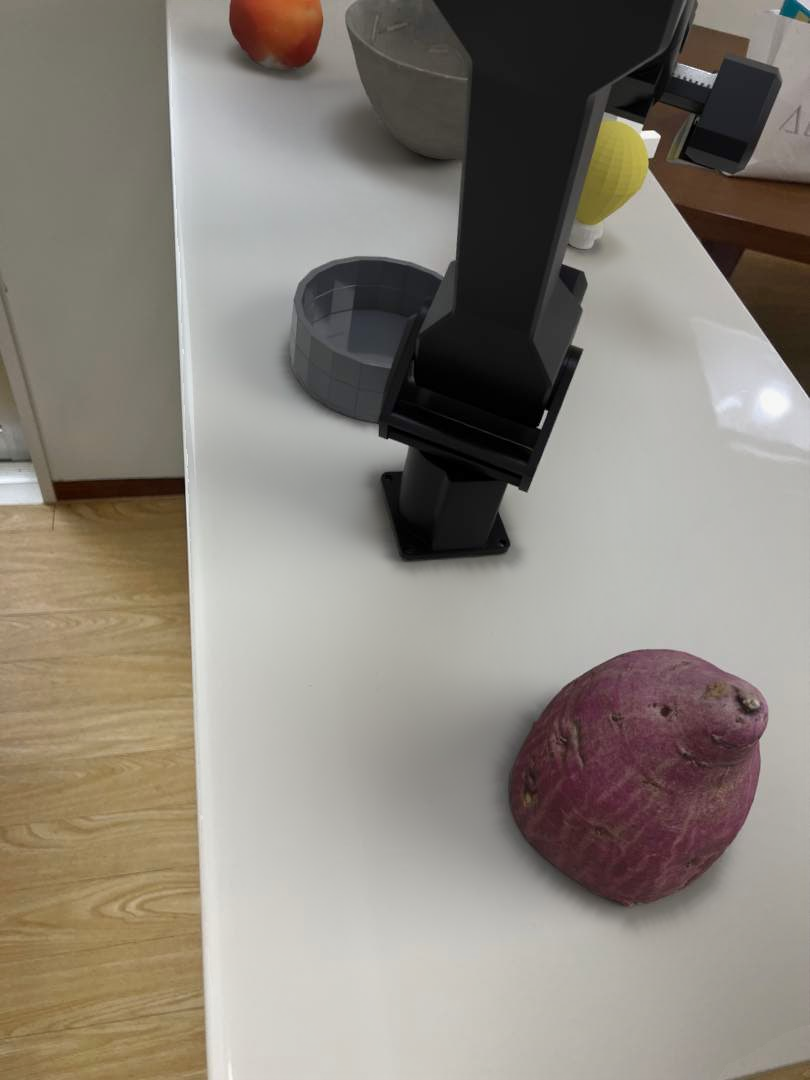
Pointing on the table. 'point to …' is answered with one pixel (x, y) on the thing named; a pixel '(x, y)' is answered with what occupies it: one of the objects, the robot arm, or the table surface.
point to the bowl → (412, 72)
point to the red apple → (277, 30)
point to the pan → (354, 328)
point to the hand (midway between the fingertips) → (611, 135)
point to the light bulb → (609, 180)
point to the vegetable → (640, 773)
